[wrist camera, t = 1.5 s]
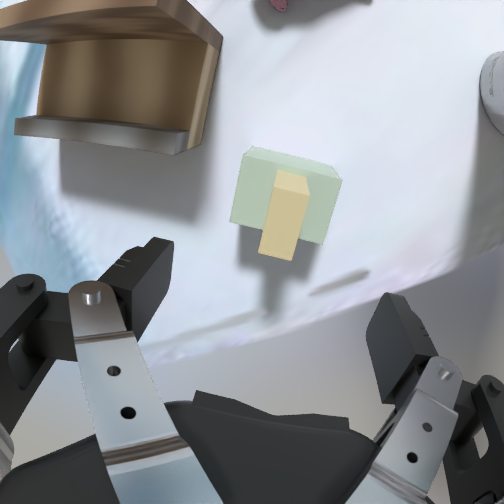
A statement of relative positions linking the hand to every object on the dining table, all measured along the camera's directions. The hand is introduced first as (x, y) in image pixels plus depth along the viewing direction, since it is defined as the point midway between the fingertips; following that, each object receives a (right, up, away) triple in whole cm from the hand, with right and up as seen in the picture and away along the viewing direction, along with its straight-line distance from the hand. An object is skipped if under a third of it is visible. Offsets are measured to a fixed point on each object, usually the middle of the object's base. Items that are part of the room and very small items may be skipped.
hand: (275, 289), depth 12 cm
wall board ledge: (-12, +16, +14) cm, 25 cm away
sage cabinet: (+2, +7, +16) cm, 18 cm away
